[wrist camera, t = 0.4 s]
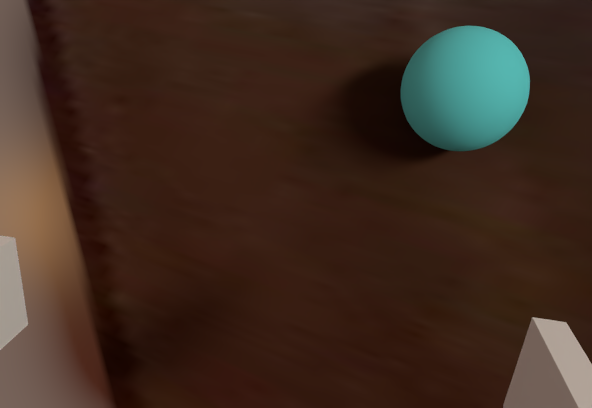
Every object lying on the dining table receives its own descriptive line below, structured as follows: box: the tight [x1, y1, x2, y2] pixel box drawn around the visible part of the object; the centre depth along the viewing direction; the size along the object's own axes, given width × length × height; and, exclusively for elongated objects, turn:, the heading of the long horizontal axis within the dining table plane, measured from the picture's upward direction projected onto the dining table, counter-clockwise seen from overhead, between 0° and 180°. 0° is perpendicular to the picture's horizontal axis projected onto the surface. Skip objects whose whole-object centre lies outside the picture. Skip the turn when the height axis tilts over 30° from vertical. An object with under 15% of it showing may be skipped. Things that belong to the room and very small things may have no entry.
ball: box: [401, 26, 530, 151], centre depth 24 cm, size 6×6×6 cm
